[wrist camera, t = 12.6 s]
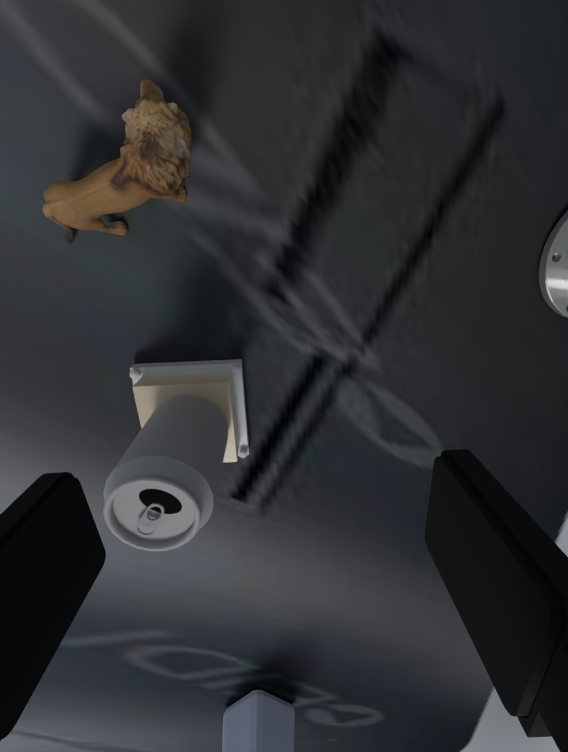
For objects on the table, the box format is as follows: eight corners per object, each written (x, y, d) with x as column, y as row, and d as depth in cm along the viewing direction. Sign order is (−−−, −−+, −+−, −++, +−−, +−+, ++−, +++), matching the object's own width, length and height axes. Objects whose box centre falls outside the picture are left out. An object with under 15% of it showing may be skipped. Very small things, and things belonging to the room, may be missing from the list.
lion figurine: (183, 109, 26) (144, 44, 18) (223, 175, 28) (204, 144, 19) (49, 217, 28) (-42, 205, 20) (93, 271, 30) (27, 281, 22)
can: (243, 412, 32) (229, 501, 21) (209, 467, 34) (181, 574, 23) (171, 377, 30) (115, 453, 19) (140, 438, 33) (74, 537, 21)
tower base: (241, 359, 34) (238, 371, 30) (249, 448, 38) (247, 469, 35) (134, 363, 34) (119, 377, 30) (153, 453, 38) (142, 474, 34)
